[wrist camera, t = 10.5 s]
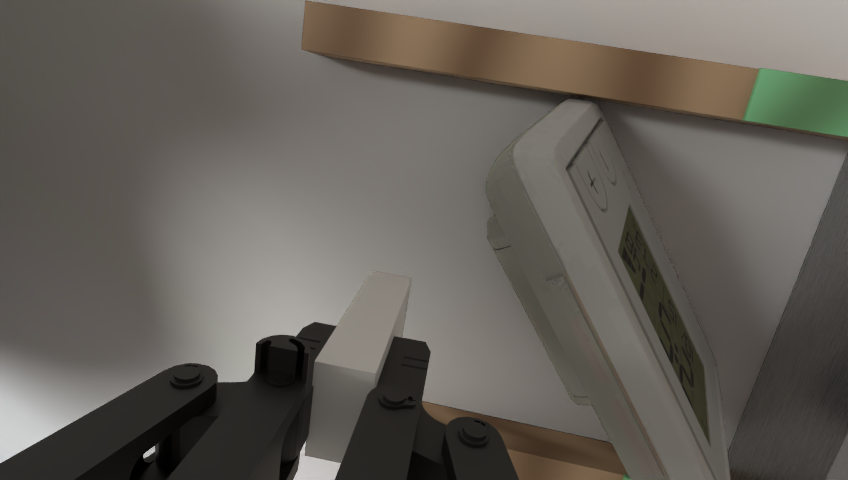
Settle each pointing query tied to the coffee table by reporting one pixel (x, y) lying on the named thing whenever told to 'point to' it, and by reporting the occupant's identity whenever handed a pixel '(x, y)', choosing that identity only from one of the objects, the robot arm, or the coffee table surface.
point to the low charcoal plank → (805, 369)
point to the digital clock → (607, 295)
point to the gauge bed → (589, 78)
